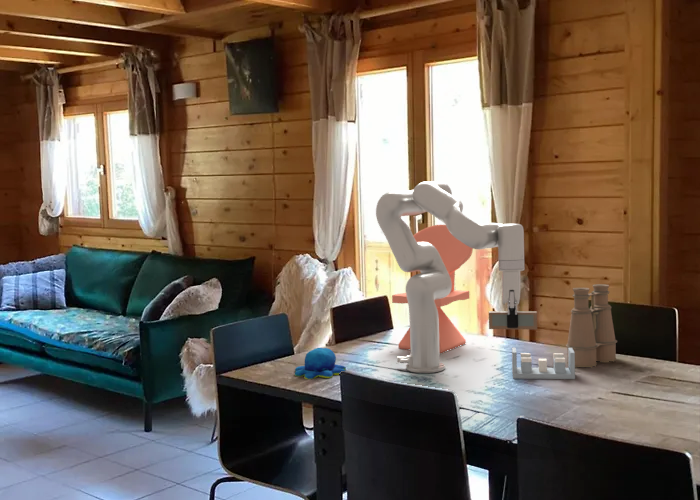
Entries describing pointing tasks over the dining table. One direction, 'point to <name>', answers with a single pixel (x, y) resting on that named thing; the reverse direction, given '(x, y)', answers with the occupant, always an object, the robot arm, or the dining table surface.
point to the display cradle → (544, 367)
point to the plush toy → (319, 364)
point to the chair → (452, 258)
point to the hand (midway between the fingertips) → (512, 326)
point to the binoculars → (591, 327)
